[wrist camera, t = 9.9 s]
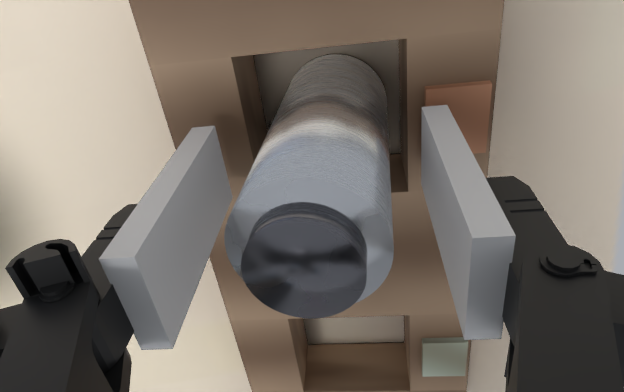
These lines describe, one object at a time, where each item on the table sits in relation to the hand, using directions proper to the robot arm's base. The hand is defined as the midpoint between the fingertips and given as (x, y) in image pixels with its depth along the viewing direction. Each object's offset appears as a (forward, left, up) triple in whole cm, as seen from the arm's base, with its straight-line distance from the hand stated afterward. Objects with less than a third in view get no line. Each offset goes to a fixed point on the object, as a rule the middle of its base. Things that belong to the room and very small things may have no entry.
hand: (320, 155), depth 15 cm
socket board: (-6, 0, -4) cm, 7 cm away
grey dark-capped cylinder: (0, 0, -4) cm, 4 cm away
